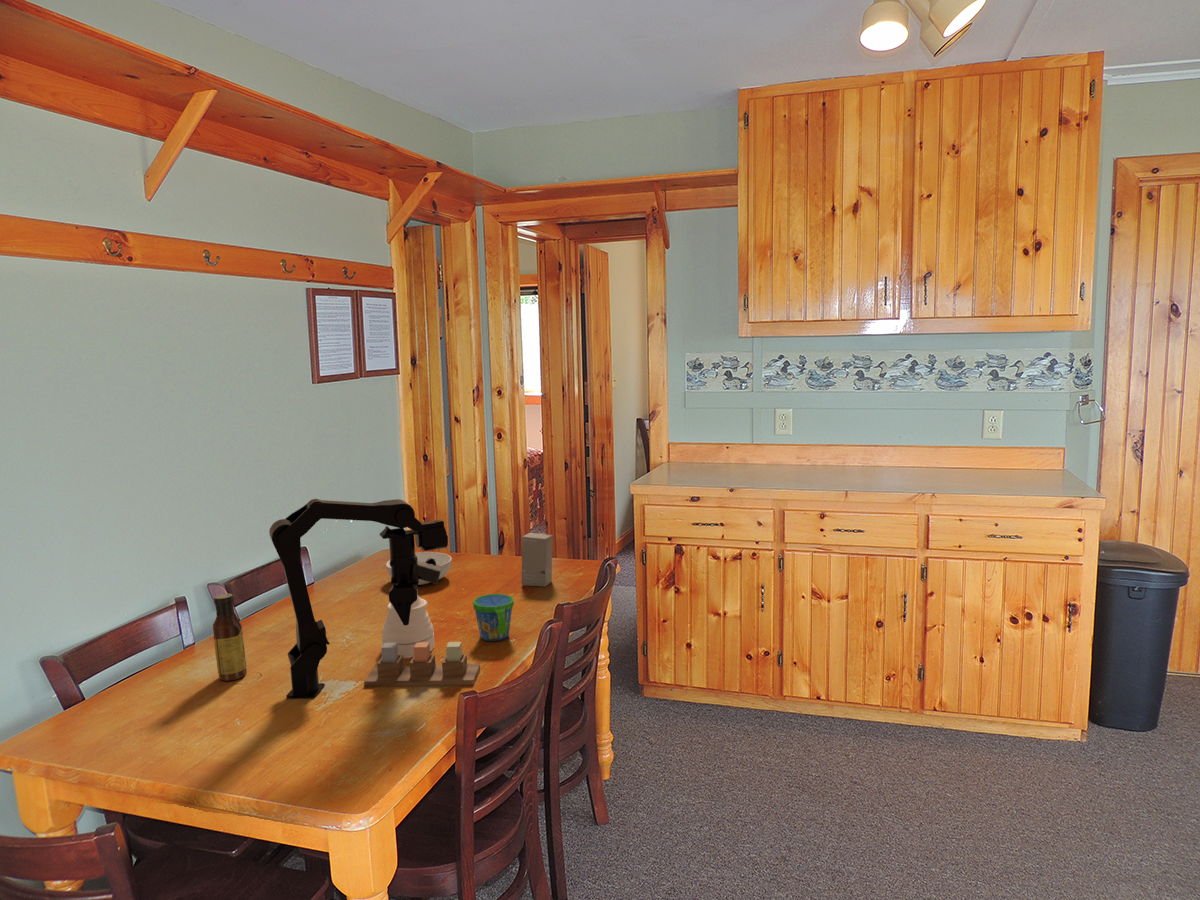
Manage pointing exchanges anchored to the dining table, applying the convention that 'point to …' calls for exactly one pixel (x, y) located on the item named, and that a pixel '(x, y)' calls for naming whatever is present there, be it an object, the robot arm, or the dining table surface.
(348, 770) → the dining table surface
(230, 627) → the sauce bottle
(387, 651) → the grey chamfered block
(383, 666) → the brown block rack
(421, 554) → the serving bowl
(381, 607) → the dining table surface
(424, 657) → the orange rectangular block
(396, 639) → the honey pot
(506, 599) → the snack cup
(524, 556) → the skincare box
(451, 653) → the beige rectangular block
